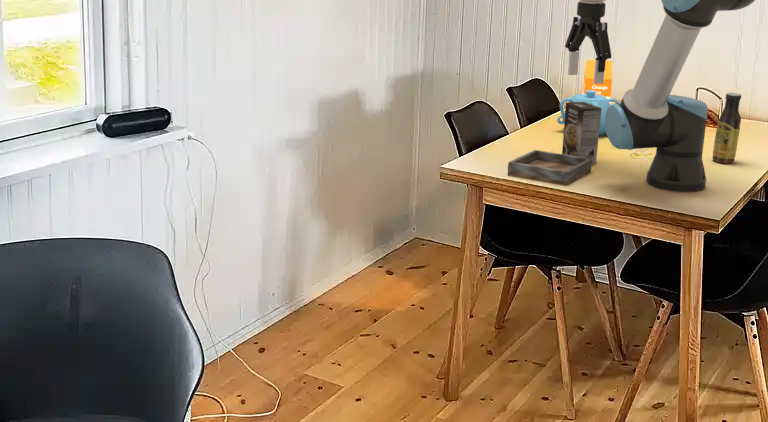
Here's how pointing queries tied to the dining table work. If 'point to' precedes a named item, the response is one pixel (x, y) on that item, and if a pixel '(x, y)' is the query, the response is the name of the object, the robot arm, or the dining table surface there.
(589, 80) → the orange juice
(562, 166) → the tray
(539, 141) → the dining table surface
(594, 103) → the decorative pot
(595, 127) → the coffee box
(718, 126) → the sauce bottle
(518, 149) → the dining table surface
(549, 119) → the dining table surface
